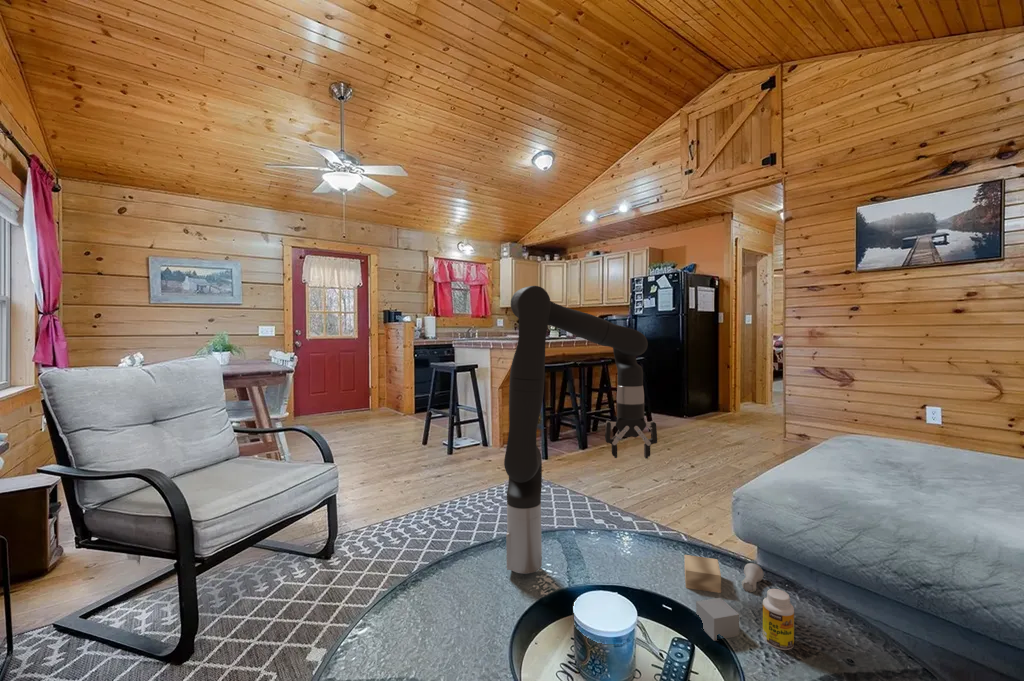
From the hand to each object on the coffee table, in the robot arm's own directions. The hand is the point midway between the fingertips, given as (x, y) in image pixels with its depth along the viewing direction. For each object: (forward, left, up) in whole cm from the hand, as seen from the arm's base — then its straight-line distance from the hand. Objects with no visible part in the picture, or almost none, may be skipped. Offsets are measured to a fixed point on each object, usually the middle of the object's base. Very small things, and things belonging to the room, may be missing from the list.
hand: (630, 457), depth 127 cm
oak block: (+15, -13, -28) cm, 35 cm away
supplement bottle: (+24, -34, -28) cm, 50 cm away
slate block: (+13, -31, -28) cm, 44 cm away
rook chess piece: (+29, -10, -26) cm, 40 cm away
